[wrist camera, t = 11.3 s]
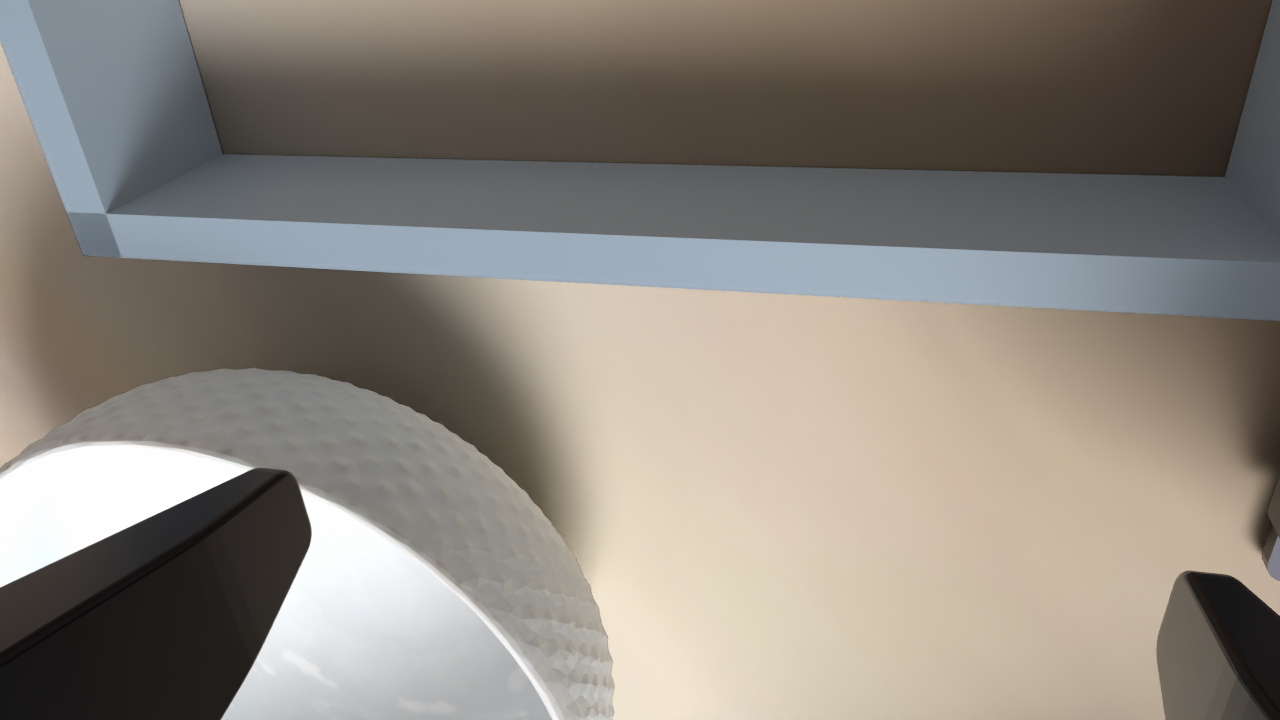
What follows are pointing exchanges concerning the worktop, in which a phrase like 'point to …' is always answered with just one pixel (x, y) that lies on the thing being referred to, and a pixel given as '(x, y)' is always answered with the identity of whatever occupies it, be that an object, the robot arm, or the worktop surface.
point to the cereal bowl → (340, 547)
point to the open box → (629, 200)
